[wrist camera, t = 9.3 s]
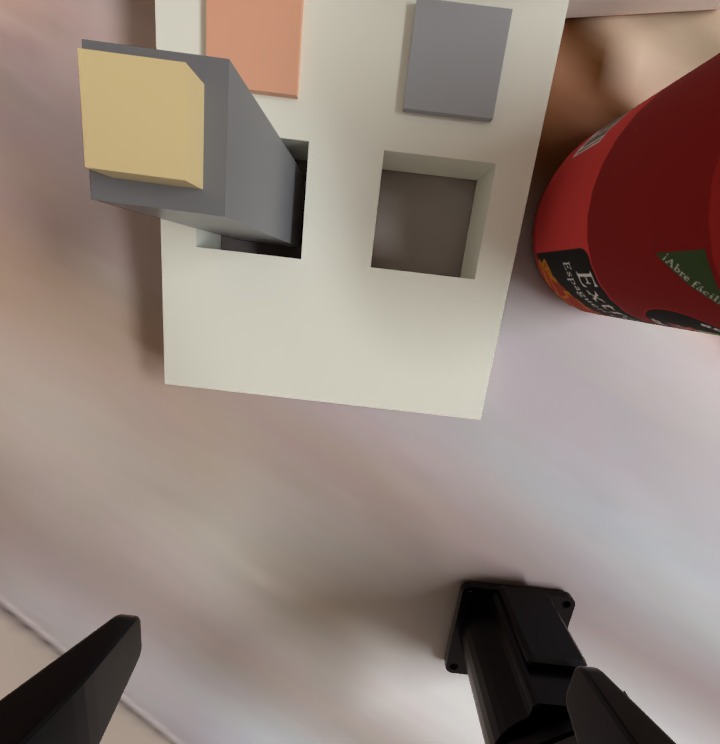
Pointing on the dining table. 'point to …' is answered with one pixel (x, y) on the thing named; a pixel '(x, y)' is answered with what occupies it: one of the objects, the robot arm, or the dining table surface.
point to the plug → (185, 144)
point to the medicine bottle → (635, 7)
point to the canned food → (641, 212)
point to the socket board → (364, 196)
